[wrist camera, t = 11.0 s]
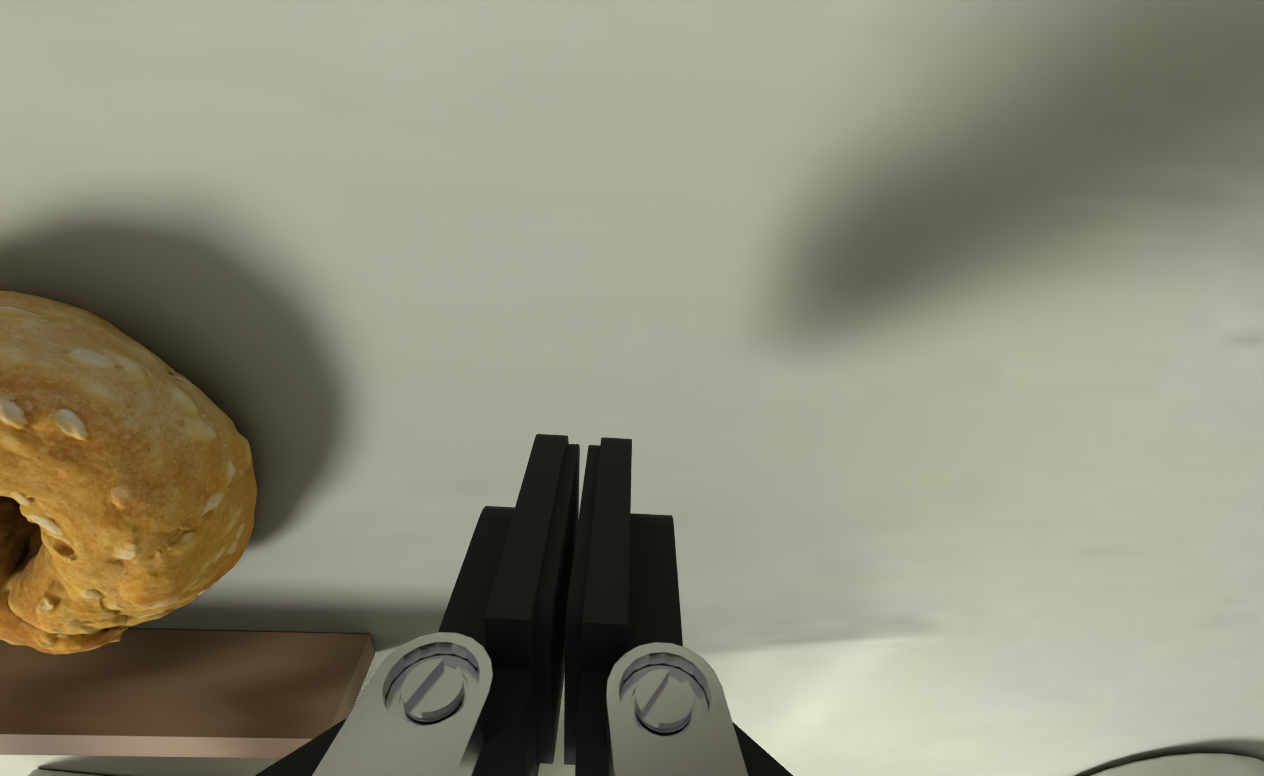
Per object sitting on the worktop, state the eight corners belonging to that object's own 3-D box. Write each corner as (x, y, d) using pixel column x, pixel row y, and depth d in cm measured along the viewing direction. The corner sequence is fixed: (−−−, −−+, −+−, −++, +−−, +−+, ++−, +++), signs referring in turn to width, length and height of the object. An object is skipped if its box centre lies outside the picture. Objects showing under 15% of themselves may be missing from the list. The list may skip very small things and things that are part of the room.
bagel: (-182, 467, 16) (-447, 608, 12) (-63, 160, 13) (-383, 213, 9) (178, 626, 20) (67, 776, 16) (352, 422, 16) (266, 549, 12)
